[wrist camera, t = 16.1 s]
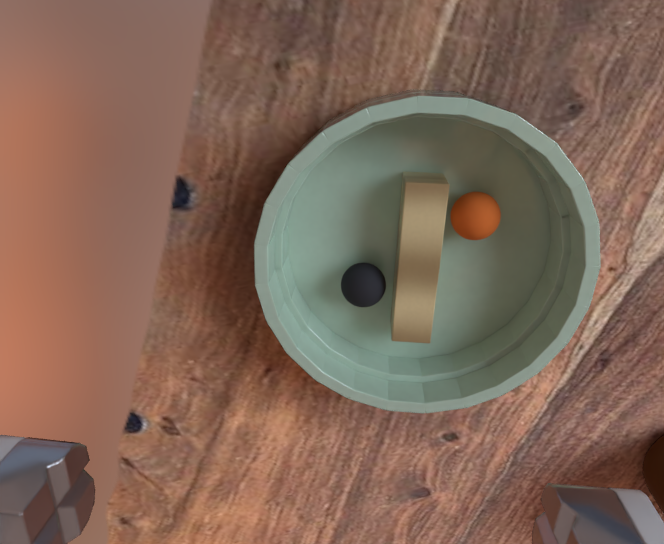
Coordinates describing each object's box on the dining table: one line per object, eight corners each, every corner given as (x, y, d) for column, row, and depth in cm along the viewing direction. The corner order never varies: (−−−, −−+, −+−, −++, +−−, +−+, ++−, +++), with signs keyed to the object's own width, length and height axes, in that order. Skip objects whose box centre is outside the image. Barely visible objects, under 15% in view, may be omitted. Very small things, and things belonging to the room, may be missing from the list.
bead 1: (382, 255, 33) (350, 251, 31) (402, 290, 31) (368, 288, 29) (358, 282, 34) (326, 280, 32) (375, 316, 33) (342, 316, 31)
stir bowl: (269, 82, 29) (249, 87, 25) (600, 97, 28) (644, 106, 24) (271, 357, 37) (257, 400, 32) (534, 377, 36) (558, 424, 31)
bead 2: (432, 223, 30) (456, 181, 29) (460, 223, 32) (483, 183, 31) (466, 250, 28) (493, 207, 27) (493, 249, 30) (519, 208, 29)
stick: (402, 171, 30) (405, 182, 28) (443, 172, 30) (450, 184, 27) (390, 319, 34) (391, 341, 32) (426, 322, 34) (430, 344, 31)
